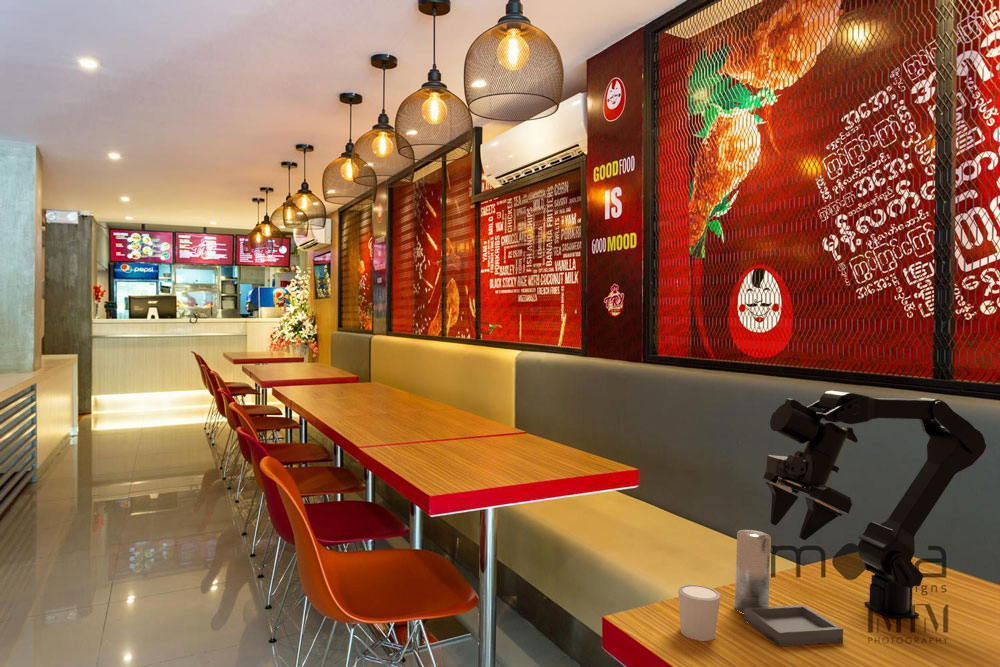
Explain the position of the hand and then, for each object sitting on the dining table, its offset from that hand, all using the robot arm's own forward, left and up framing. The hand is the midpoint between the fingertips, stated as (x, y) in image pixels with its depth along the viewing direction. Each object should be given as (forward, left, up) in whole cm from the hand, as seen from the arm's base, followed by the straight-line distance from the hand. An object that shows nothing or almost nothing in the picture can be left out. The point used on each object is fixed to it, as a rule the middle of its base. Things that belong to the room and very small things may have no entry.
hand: (786, 531), depth 118 cm
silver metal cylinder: (+6, -2, -15) cm, 16 cm away
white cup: (+21, +6, -15) cm, 26 cm away
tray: (+4, +7, -15) cm, 17 cm away
